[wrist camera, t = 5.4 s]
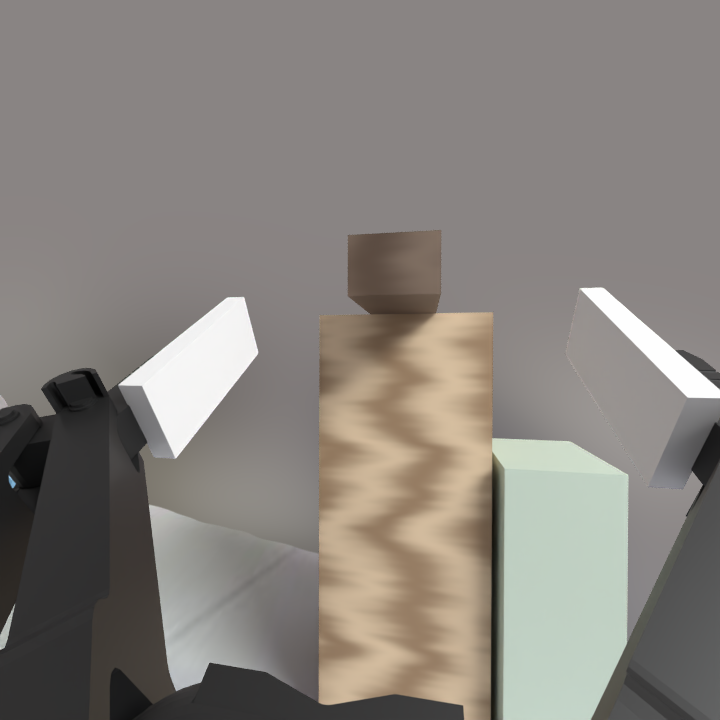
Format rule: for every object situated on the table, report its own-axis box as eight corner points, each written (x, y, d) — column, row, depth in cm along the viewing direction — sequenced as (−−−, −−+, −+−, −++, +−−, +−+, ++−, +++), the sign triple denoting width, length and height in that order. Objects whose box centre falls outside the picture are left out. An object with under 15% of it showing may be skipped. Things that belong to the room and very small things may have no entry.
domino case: (347, 295, 18) (347, 232, 18) (389, 329, 40) (389, 300, 40) (440, 293, 18) (441, 226, 18) (431, 329, 39) (432, 299, 39)
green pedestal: (502, 784, 23) (504, 468, 23) (481, 666, 32) (482, 438, 32) (625, 807, 22) (628, 475, 22) (568, 679, 31) (569, 441, 31)
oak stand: (318, 726, 27) (319, 315, 27) (350, 614, 39) (351, 328, 39) (490, 757, 25) (493, 312, 25) (469, 628, 37) (470, 327, 37)
